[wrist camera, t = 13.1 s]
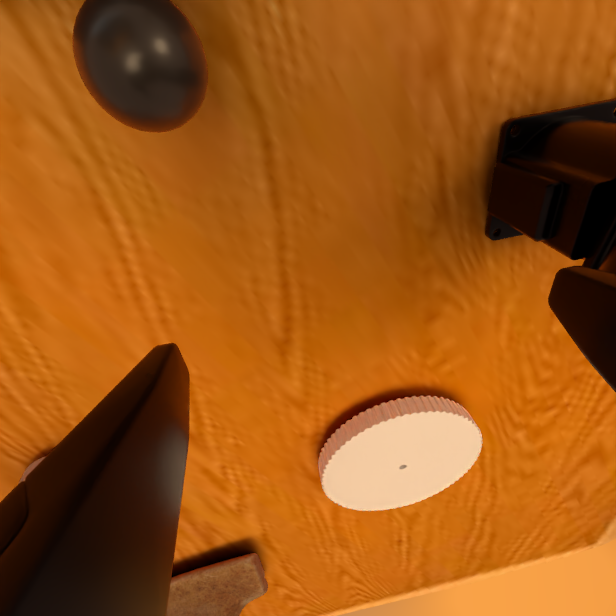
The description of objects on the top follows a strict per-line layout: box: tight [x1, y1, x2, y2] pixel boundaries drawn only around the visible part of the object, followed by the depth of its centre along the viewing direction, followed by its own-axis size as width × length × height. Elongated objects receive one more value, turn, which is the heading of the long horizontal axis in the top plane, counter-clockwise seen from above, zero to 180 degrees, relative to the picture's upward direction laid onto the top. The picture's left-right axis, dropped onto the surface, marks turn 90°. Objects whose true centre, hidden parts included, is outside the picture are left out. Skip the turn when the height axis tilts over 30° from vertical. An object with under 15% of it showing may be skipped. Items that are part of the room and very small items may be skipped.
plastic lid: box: [318, 395, 483, 511], centre depth 31 cm, size 14×14×2 cm
